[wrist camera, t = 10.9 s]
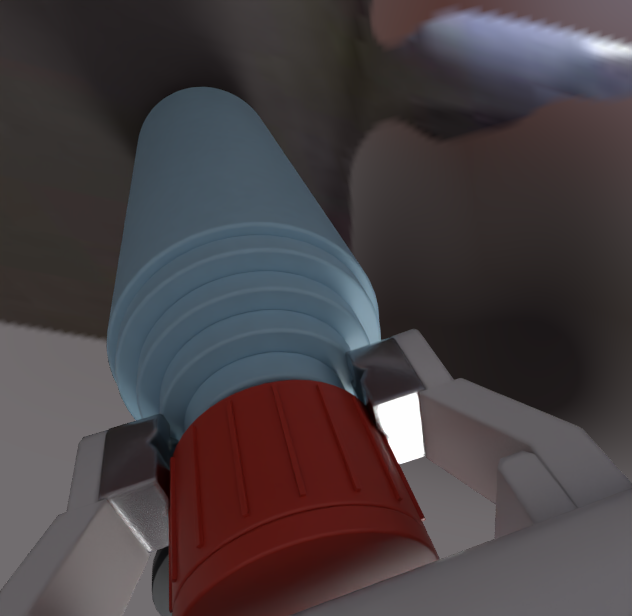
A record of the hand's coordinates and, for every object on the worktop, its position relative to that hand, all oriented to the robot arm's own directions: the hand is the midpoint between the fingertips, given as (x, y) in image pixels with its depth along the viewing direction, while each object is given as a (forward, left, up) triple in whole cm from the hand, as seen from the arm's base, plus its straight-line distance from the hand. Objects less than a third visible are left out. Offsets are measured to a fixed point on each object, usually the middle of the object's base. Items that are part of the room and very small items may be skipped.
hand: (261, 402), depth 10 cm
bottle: (-1, 0, -18) cm, 18 cm away
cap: (0, 0, +1) cm, 1 cm away
